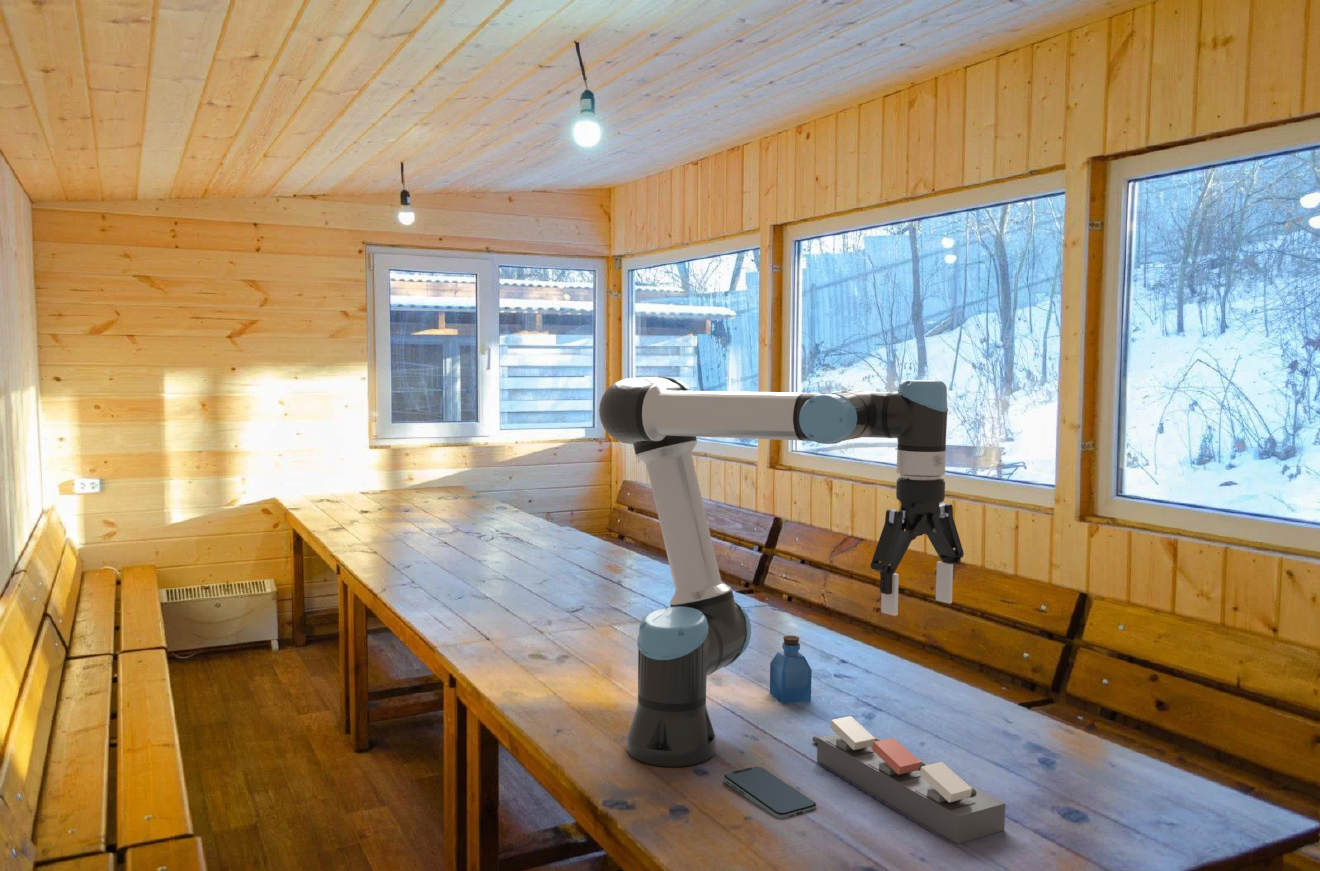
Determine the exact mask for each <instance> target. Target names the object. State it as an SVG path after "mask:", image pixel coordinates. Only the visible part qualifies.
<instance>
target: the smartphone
mask: <svg viewBox="0 0 1320 871" xmlns="http://www.w3.org/2000/svg"><path fill="white" fill-rule="evenodd" d="M723 776H724V778H723V782H724V783H725V784H727V786H729V787H730V788H731V789H733V790H735V791H736V792H738V794H741V795H742V796H743V797H744V798H746V799H747V800H749V801H751V802H752V803H754V804H755V805H757V806H758V807H760V808H762V810H764V811H765V812H768V813H769V814H770V815H772V816H773V817H775V818H778V819H786V818H790V817H793V816H796V815H800V814H804V813H807V812H811V811H814V810H816V809H817V803H816V802H815V801H814V800H812V799H811V798H810V797H808V796H807V795H804V794H803V793H802V792H801V791H799V790H797V789H796V788H794V787H793V786H792V785H789V784H788V783H786V782H785V781H783V780H782V779H780V778H779V777H777V776H776V775H774V774H773V773H771V772H770V771H768V770H766V768H764V767H761V766H753V767H751V766H750V767H747V768H742V769H740V770H739V769H738V770H735V771H732V772H728V773H726V774H724V775H723Z"/></svg>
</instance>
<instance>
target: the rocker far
mask: <svg viewBox="0 0 1320 871" xmlns="http://www.w3.org/2000/svg"><path fill="white" fill-rule="evenodd" d="M829 728H830V729H831V730H832V731H833V732H834V734H838V735H839V736H840V737H841V738H842V739H843V740H844V741H845V742H846V743H847V744H848V745H849V746H850V747H851V748H852V749H853V750H857V749H861V748H866V747H870V746H873V743H874V741H875V738H874V737H873V736H874V735H873V734H872V733H870V732H869V731H868V730H866V728H864V727H863V726H862V725H861V723H859V722H858V721H857V720H856V719H855V718H853V717H852V716H851V715H849V716H845V717H840V718H839V717H838V718H835V719H831V721H830V726H829ZM871 734H872V735H873V736H872V735H871Z"/></svg>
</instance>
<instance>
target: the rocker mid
mask: <svg viewBox="0 0 1320 871" xmlns="http://www.w3.org/2000/svg"><path fill="white" fill-rule="evenodd" d="M872 750H873V751H874V752H875V753H876V754H877V755H878V756H879V757H880V758H881V759H882V760H883V761H885V762H886V763H887V764H888V765H889V766H890V767H891V768H892V769H893V770H894V771H895V772H896V773H897V774H898V775H900V774H904V773H908V772H912V771H916V770H919V767H920V763H921V762H920V761H919V760H918V759H919V758H918V757H916V756H915V755H913V753H912V752H911V751H909V750H908V749H907V748H906V747H905V746H903V744H901V743H900V742H899V741H898V740H897V739H896V738H894V737H890V738H885V739H881V740H880V741H875V742H874V743H873V747H872ZM917 758H918V759H917Z"/></svg>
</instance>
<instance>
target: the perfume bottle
mask: <svg viewBox="0 0 1320 871" xmlns="http://www.w3.org/2000/svg"><path fill="white" fill-rule="evenodd" d="M799 641H800V637H799V636H796V635H784V636H783V642H782V644H781V645H782V646H781V648H782V650H783V651H778V652H777V653H776V654H775V655H774V657H773V658H772V660H771V661H770V662H769V663H770V664H769V665H770V666H769V694H770V695H771V696H773V698H774V699H776V700H777V701H778V702H780V704H792V703H793V704H794V703H804V702H811V701H812V677H813V676H812V674H813V673H812V668H811V666H810V665H809V663H808V661H807V659H806V657H805V656H804V655H803V654H802V653H800V652H799V651H800V650H801V643H800V642H799Z"/></svg>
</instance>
